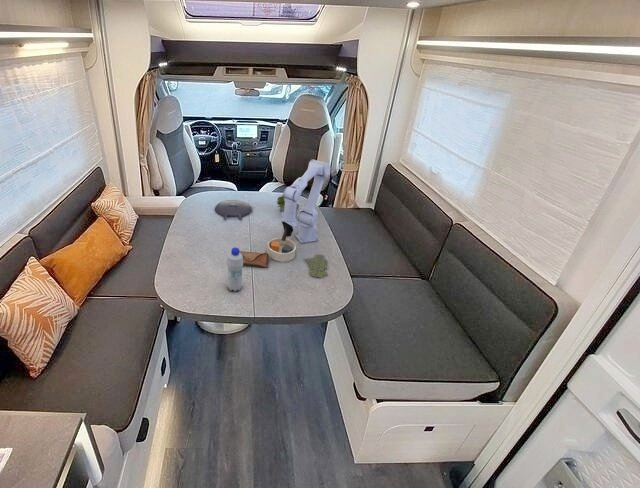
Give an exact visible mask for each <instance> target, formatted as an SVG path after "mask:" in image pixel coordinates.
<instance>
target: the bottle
mask: <svg viewBox="0 0 640 488" xmlns="http://www.w3.org/2000/svg"><path fill="white" fill-rule="evenodd" d="M240 251H241V250H240V248H238V247H233V248H231V251H230V252H229V253H228V255H227V260H226V264H227V265H226V266H227V281H226V283H227V288H228V289H229V291H233V292H237V291H240V290H241V288H242V286H243V256H242V254H241V253H240Z"/></svg>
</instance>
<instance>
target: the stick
mask: <svg viewBox="0 0 640 488" xmlns="http://www.w3.org/2000/svg"><path fill="white" fill-rule="evenodd" d="M281 238H282V239H281V240H282V241H285V240H286V239H287V238H288V237H287V236H286V227H285V230H284V229H283V233H282V236H281Z"/></svg>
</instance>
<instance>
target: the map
mask: <svg viewBox="0 0 640 488" xmlns="http://www.w3.org/2000/svg"><path fill="white" fill-rule="evenodd" d="M323 256H324V255H321V254H318V255H317V254H316V255H315V258H305V259H304V261H305V262H306V263H308V265H309V274H310V276H311V277H315V278H321V279H324V276H327V275H328V274H327V272H326V270H327V269H328V268H327V261H326V259H323ZM325 269H326V270H325Z"/></svg>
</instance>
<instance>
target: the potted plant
mask: <svg viewBox="0 0 640 488" xmlns="http://www.w3.org/2000/svg"><path fill="white" fill-rule="evenodd" d="M276 204H277V206H278V208H279V211H280V213H282V212H284V207H285V201H284V197H283V195H280V196H278V198H277V199H276ZM299 207H300V204H299V203H297V207H296V212H297V211H298V210H299Z"/></svg>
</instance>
